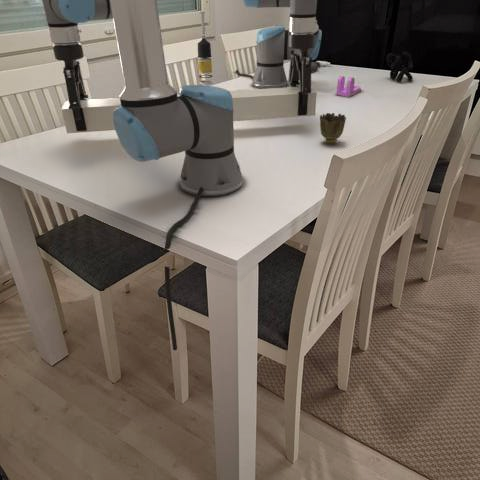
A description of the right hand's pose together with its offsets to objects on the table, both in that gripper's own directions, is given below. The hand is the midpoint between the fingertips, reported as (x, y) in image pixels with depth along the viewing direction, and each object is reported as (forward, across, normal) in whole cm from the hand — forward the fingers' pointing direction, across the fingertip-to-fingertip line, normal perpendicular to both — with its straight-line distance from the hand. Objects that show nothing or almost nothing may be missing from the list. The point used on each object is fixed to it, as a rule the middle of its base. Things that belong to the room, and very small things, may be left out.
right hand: (297, 110), depth 142 cm
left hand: (0, 0, +66) cm, 66 cm away
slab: (+1, 0, +33) cm, 33 cm away
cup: (+6, -15, -6) cm, 17 cm away
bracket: (+6, +40, -34) cm, 53 cm away
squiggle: (+6, +55, -64) cm, 85 cm away
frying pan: (+6, +89, -34) cm, 95 cm away
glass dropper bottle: (+6, +57, +23) cm, 62 cm away
